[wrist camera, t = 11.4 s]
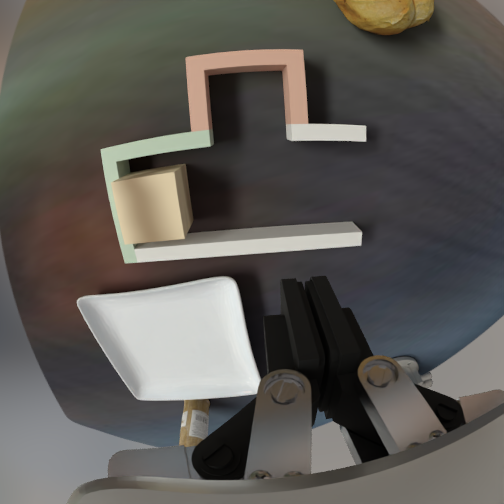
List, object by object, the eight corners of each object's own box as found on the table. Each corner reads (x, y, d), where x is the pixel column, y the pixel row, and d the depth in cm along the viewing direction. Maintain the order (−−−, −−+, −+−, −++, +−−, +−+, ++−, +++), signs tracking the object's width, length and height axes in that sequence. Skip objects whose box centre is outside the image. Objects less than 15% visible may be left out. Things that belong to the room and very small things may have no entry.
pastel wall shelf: (350, 60, 22) (361, 55, 19) (351, 234, 30) (360, 245, 27) (107, 83, 22) (94, 80, 19) (134, 250, 30) (125, 263, 27)
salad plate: (235, 260, 31) (235, 276, 28) (263, 378, 41) (264, 395, 38) (82, 285, 32) (71, 299, 29) (141, 385, 42) (137, 401, 39)
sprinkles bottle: (179, 396, 42) (168, 464, 30) (200, 391, 41) (193, 462, 29) (194, 409, 44) (187, 473, 32) (215, 404, 43) (212, 471, 31)
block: (185, 163, 26) (174, 172, 22) (193, 219, 29) (184, 238, 24) (131, 172, 26) (110, 182, 22) (141, 225, 29) (124, 244, 24)
